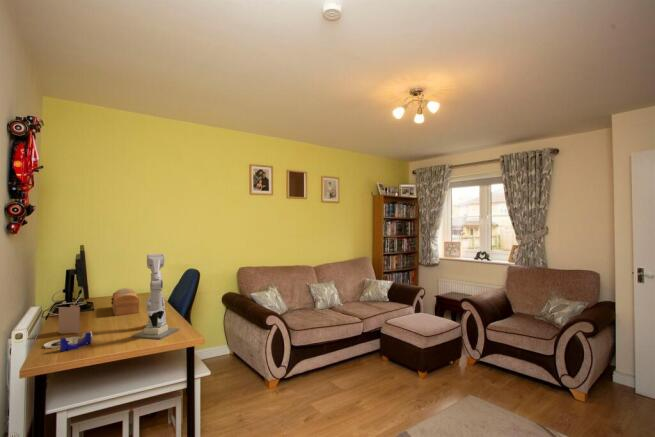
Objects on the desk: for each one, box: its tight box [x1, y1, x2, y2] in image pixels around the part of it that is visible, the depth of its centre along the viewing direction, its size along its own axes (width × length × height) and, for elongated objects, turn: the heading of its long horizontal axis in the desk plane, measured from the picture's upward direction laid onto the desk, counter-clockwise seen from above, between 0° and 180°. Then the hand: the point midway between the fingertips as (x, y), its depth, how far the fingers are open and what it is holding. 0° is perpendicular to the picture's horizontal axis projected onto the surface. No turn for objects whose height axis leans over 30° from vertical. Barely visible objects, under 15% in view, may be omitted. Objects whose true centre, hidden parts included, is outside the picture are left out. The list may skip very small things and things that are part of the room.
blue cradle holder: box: [59, 331, 92, 353], centre depth 167 cm, size 12×4×6 cm, turn 142°
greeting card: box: [58, 304, 81, 334], centre depth 191 cm, size 11×7×15 cm, turn 59°
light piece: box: [43, 331, 93, 349], centre depth 175 cm, size 12×3×20 cm
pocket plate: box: [131, 324, 180, 340], centre depth 188 cm, size 16×18×4 cm
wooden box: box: [110, 287, 140, 317], centre depth 241 cm, size 30×16×14 cm, turn 34°
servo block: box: [146, 318, 165, 328], centre depth 188 cm, size 3×9×6 cm, turn 89°
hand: (156, 325), depth 188 cm, fingers closed on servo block, 3 cm apart
